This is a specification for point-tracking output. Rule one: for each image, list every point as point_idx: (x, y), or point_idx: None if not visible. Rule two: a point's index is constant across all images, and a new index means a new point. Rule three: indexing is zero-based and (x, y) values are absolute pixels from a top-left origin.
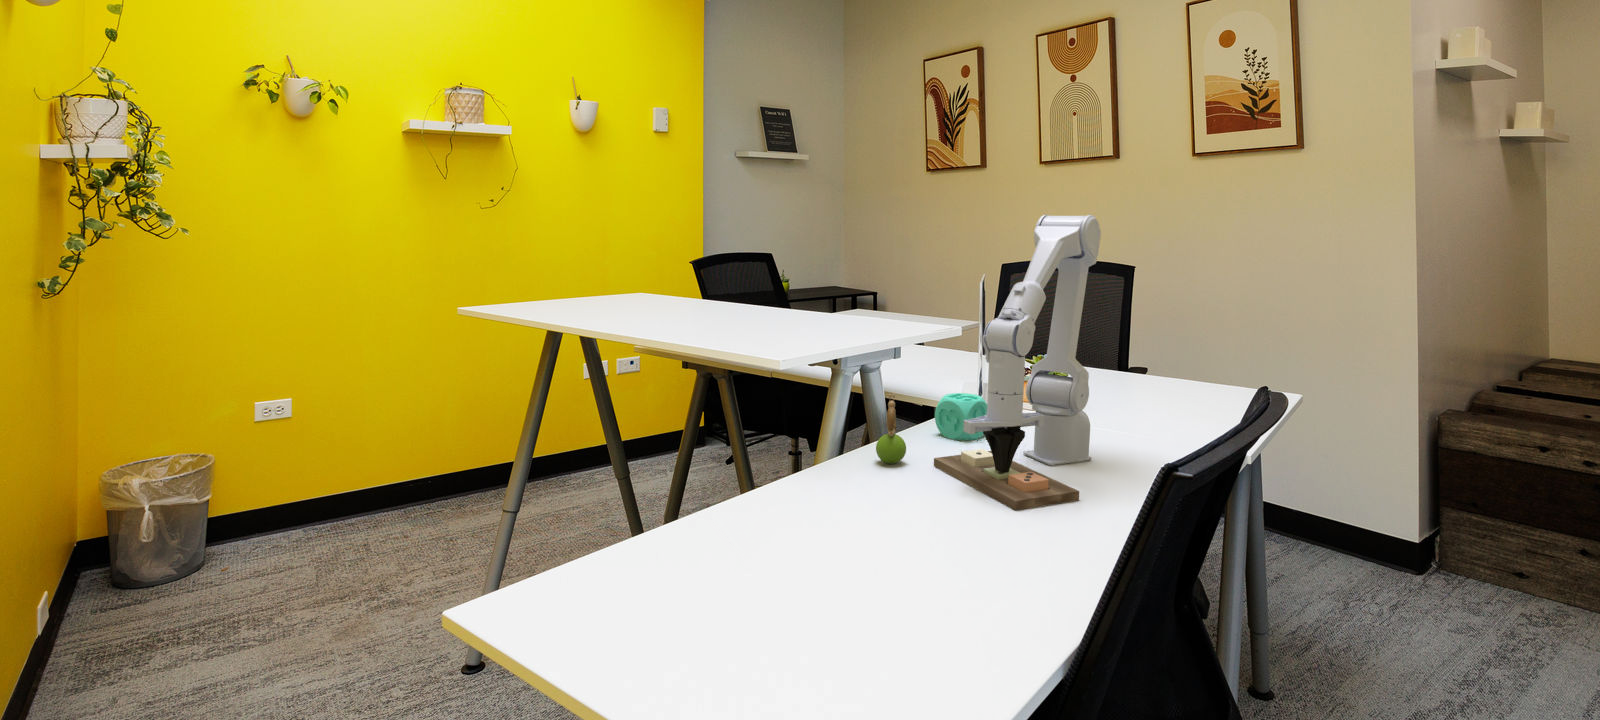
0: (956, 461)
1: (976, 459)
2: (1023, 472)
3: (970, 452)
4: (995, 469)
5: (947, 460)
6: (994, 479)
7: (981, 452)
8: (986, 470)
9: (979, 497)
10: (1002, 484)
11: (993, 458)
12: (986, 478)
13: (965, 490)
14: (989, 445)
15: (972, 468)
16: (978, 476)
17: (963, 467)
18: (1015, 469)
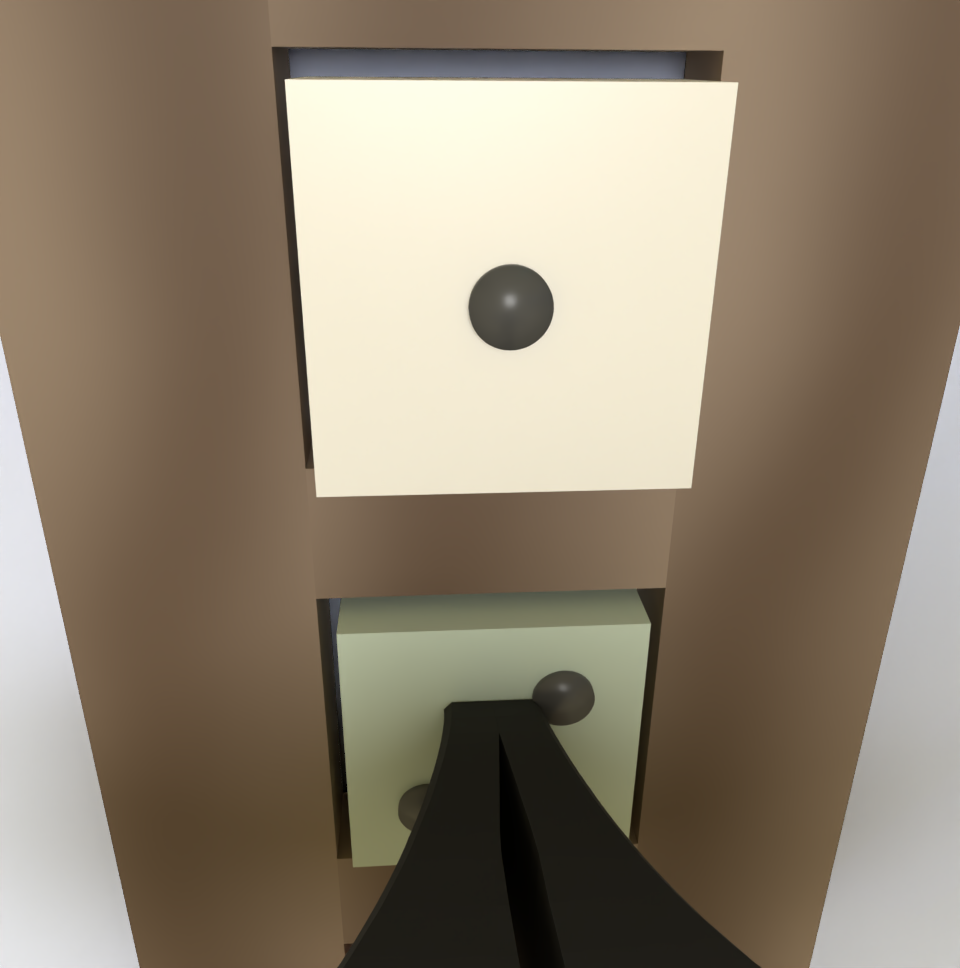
0: (195, 124)
1: (341, 491)
2: (718, 764)
3: (423, 186)
4: (444, 710)
5: (71, 11)
6: (305, 844)
7: (596, 257)
8: (340, 683)
9: (71, 904)
10: (299, 957)
11: (429, 785)
12: (241, 805)
13: (18, 749)
14: (367, 923)
15: (264, 490)
16: (187, 739)
17: (169, 414)
18: (715, 670)
